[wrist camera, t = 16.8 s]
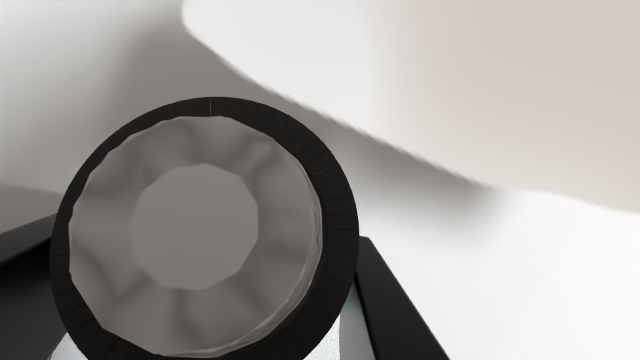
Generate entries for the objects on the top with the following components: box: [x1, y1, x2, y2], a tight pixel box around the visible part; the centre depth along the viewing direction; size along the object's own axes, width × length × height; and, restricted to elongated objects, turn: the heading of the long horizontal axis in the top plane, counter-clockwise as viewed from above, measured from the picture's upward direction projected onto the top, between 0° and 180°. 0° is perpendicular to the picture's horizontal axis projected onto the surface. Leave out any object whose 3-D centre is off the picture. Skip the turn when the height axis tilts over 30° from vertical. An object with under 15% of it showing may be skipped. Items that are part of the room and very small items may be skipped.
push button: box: [49, 97, 359, 360], centre depth 10 cm, size 7×5×10 cm
